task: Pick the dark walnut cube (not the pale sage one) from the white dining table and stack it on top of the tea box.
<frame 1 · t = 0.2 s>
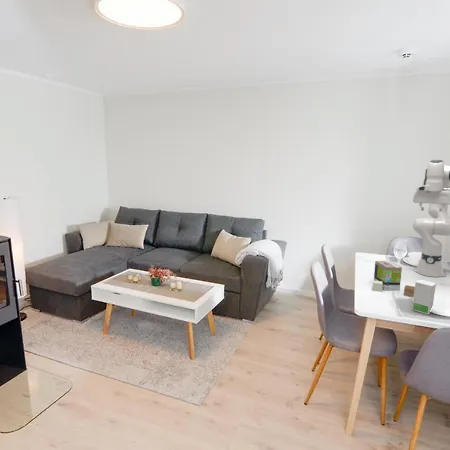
hand: (431, 211, 203), 48 cm above the table, fingers open, 8 cm apart
tea box: (386, 286, 212), on the table
walnut block: (409, 295, 198), on the table
sage block: (377, 290, 206), on the table
skincare box: (422, 311, 177), on the table
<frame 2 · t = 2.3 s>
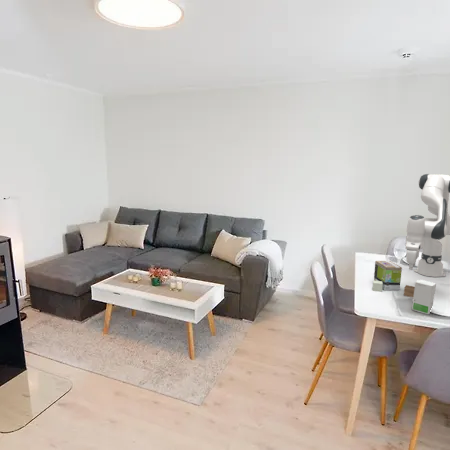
hand: (412, 267, 194), 17 cm above the table, fingers open, 8 cm apart
nothing on the table moved.
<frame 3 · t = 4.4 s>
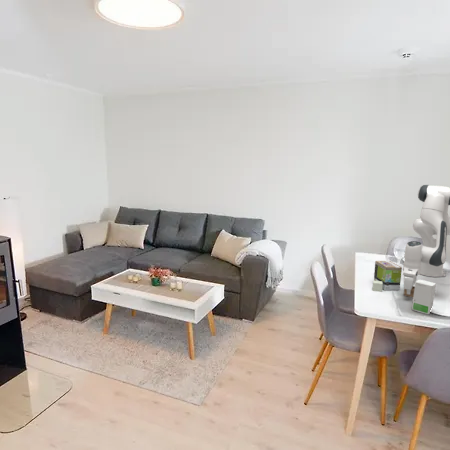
hand: (409, 292, 197), 2 cm above the table, fingers closed on walnut block, 5 cm apart
walnut block: (409, 295, 198), on the table, touching gripper
everything else where it was.
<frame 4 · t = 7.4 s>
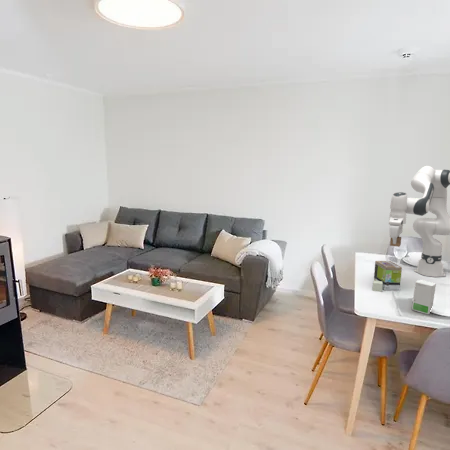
hand: (395, 242, 204), 29 cm above the table, fingers closed on walnut block, 5 cm apart
walnut block: (395, 245, 204), point 27 cm above the table, touching gripper
everything else where it was.
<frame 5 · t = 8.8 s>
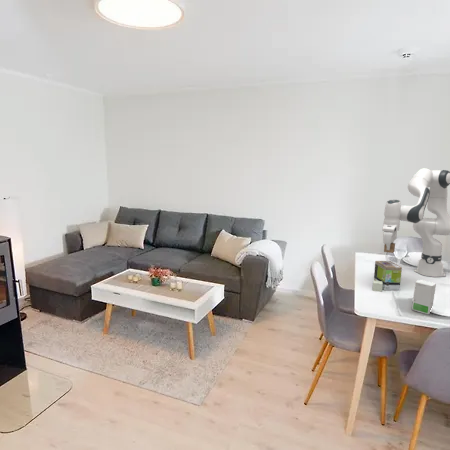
hand: (389, 248, 208), 24 cm above the table, fingers closed on walnut block, 5 cm apart
walnut block: (389, 251, 208), point 22 cm above the table, touching gripper
everything else where it was.
when the fingers open (18 cm above the table, at t = 10.3 s): walnut block drops 2 cm, resting on tea box.
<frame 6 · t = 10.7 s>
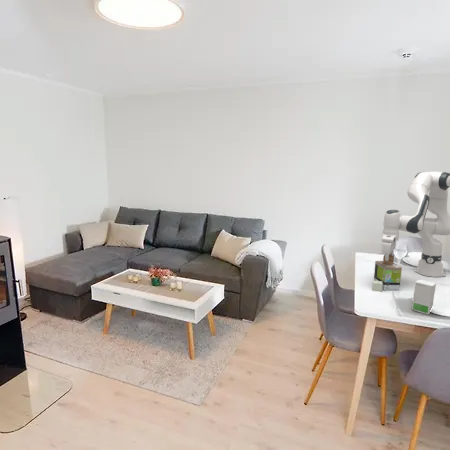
hand: (388, 258, 209), 18 cm above the table, fingers open, 8 cm apart
tea box: (386, 286, 212), on the table, touching walnut block
walnut block: (388, 263, 210), point 15 cm above the table, touching tea box
everything else where it was.
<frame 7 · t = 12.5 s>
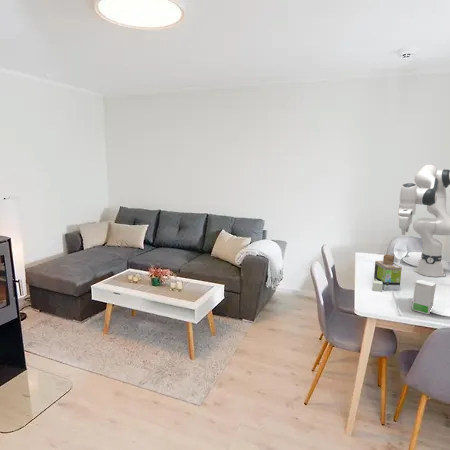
hand: (404, 233, 206), 34 cm above the table, fingers open, 8 cm apart
nothing on the table moved.
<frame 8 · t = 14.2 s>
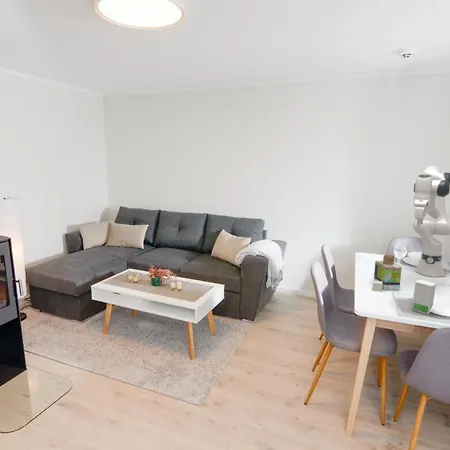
hand: (419, 225, 204), 39 cm above the table, fingers open, 8 cm apart
nothing on the table moved.
at the end: walnut block inside the target area (0.1 cm from its centre), point 14.7 cm above the table; walnut block touching tea box; the gripper is holding nothing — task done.
